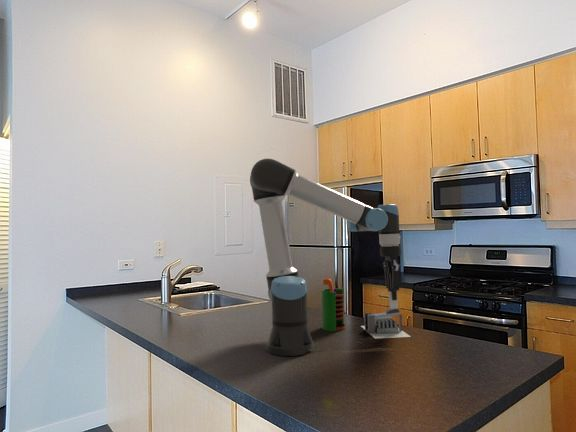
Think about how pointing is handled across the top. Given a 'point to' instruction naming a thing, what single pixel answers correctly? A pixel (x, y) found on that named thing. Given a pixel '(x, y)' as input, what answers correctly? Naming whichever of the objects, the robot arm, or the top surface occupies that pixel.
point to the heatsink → (385, 325)
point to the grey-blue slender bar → (386, 313)
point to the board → (393, 335)
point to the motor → (332, 307)
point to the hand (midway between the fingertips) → (393, 308)
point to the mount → (371, 323)
